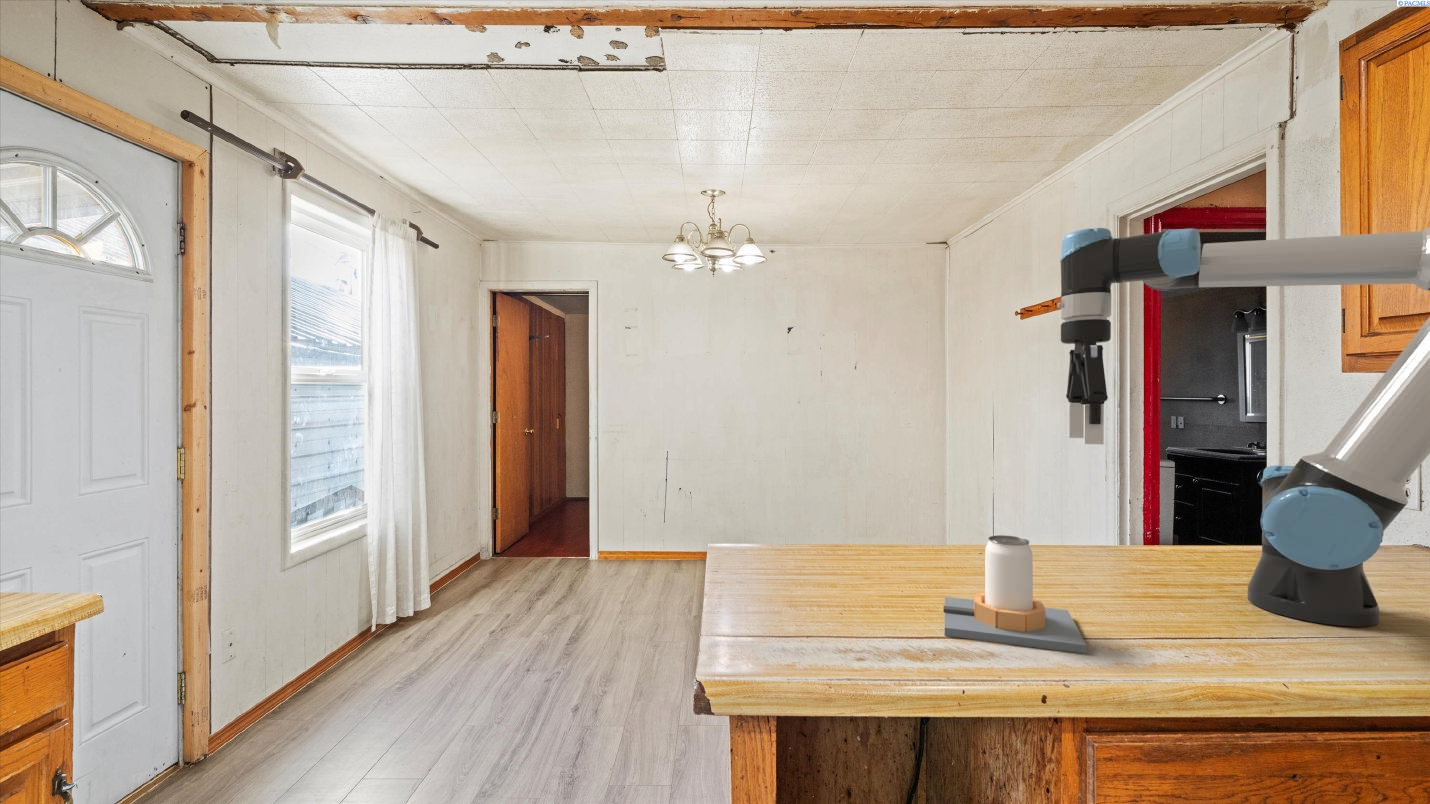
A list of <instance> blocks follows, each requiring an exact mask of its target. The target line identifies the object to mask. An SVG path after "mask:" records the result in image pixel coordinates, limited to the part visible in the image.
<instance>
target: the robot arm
mask: <svg viewBox="0 0 1430 804" xmlns="http://www.w3.org/2000/svg"><path fill="white" fill-rule="evenodd" d="M1059 262H1060V283H1061V284H1060V285H1061V287H1060V288H1061V291H1060V292H1061V293H1060V294H1061V295H1060V297H1061V301H1060V302H1057V305H1056V306H1057V308H1061V311H1060V317H1061V320H1064V321H1063V322H1062V323H1061V324H1060V342H1061V343H1062V344H1065V345H1066V344H1068V345H1072V344H1074V349H1070V350H1069V366H1068V367H1069V368H1068V375H1067V376H1068V377H1067V388H1066V394H1065V397H1066V399H1067V401H1068V438H1070V439H1071V438H1073V439H1083V445H1105V444H1104V443H1105V442H1104V438H1105V437H1104V434H1105V433H1104V431H1105V430H1104V428H1105V427H1104V422H1105V421H1104V419H1105V418H1104V417H1105V416H1104V409H1105V408H1104V407H1105V402H1106V401H1107V400H1108V397H1109V396H1108V394H1107V393H1108V392H1107V384H1106V383H1107V382H1106V375H1105V366H1104V357H1103V356H1104V352H1103V350H1104V346H1103V345H1102V344H1099V343H1106V342H1109V341H1110V340H1111V337H1112V330H1111V329H1112V323H1111V321H1110V320H1109V319H1108V318H1109V317H1111V316H1112V284H1122V283H1129V282H1130V283H1131V282H1141V281H1142V282H1143V283H1144V285H1146V286H1148V288H1150V289H1153V290H1156V291H1161V292H1162V291H1164V292H1165V291H1167V292H1168V291H1174V290H1177V289H1194V288H1228V287H1229V288H1231V287H1232V288H1235V287H1237V288H1239V287H1243V288H1245V287H1293V286H1294V287H1296V286H1297V287H1298V286H1299V287H1303V286H1349V285H1350V286H1353V285H1357V286H1358V285H1399V284H1400V285H1401V284H1402V285H1404V284H1405V285H1406V284H1408V285H1411V284H1412V285H1414V286H1416V287H1418V288H1419V289H1421V290H1422V291H1430V226H1428V227H1427V228H1425V229H1423V230H1418V231H1416V230H1415V231H1401V232H1381V233H1368V234H1367V233H1364V234H1349V235H1348V234H1347V235H1332V236H1331V235H1330V236H1329V235H1328V236H1315V237H1297V238H1296V237H1295V238H1278V239H1265V240H1263V239H1262V240H1261V239H1260V240H1259V239H1258V240H1244V241H1227V242H1210V243H1201V236H1200V232H1199V231H1198V229H1197V228H1183V229H1182V228H1181V229H1174V228H1173V229H1172V228H1171V229H1168V230H1165V231H1159V232H1151V233H1146V234H1139V235H1138V234H1137V235H1133V236H1126V237H1118V238H1117V237H1114V238H1113V236H1112V232H1111V230H1110V229H1109V228H1105V227H1095V228H1082V229H1078V230H1074V231H1071V232H1069V233H1067V234H1065V236H1064V237H1063V239H1062V242H1061V257H1060V261H1059ZM1429 455H1430V316H1429V317H1428V318H1427V319H1426V321H1425V322H1424V323H1423V325H1422V326H1421V327H1420V328H1419V330H1418V331H1417V332H1416V334H1414V336H1413V337H1412V339H1411V340H1410V341H1409V342H1408V344H1407V345H1406V346H1405V347H1404V349H1403V350H1402V351H1401V353H1399V355H1398V356H1397V358H1396V359H1395V360H1394V361H1393V363H1392V364H1391V365H1390V366H1389V368H1388V369H1387V370H1386V371H1385V373H1383V375H1382V376H1381V378H1380V379H1379V381H1378V382H1377V383H1376V384H1375V385H1374V387H1373V388H1372V390H1371V391H1370V392H1369V393H1368V394H1367V396H1365V398H1364V400H1363V401H1362V402H1361V404H1360V405H1359V406H1357V408H1356V410H1355V411H1354V412H1353V413H1352V415H1351V416H1350V417H1349V418H1348V420H1347V421H1346V422H1345V424H1344V425H1343V426H1342V427H1341V428H1340V430H1339V431H1338V433H1336V435H1335V436H1334V438H1333V439H1332V440H1331V441H1330V442H1329V444H1328V445H1327V446H1326V447H1325V449H1324V450H1323V451H1321V452H1318V453H1314V454H1307V455H1303V456H1302V457H1301V458H1300V459H1299V460H1298V462H1297V463H1296V464H1295V465H1270V466H1269V465H1268V466H1266V467H1265V468H1264V469H1263V472H1262V473H1263V474H1262V478H1261V479H1260V484H1261V486H1262V500H1261V501H1262V505H1261V506H1262V507H1261V508H1262V511H1261V514H1260V527H1261V530H1262V531H1261V532H1262V533H1261V557H1260V559H1259V561H1258V563H1257V565H1256V568H1255V569H1254V570H1253V571H1254V572H1253V574H1252V577H1251V578H1250V579H1249V583H1248V585H1247V600H1248V601H1249V602H1250V603H1251V604H1253V605H1254V606H1255V607H1259V608H1261V609H1263V610H1266V611H1268V612H1272V613H1274V614H1278V615H1281V616H1285V617H1289V618H1293V619H1297V620H1302V621H1306V622H1307V621H1308V622H1311V623H1317V624H1324V625H1331V626H1341V627H1357V628H1358V627H1373V626H1375V625H1378V624H1379V623H1380V607H1379V604H1378V602H1377V600H1376V597H1375V595H1374V592H1373V589H1372V587H1371V585H1370V583H1369V580H1368V578H1367V575H1366V573H1365V571H1364V563H1365V562H1367V561H1368V560H1369V559H1370V558H1372V557H1373V556H1374V555H1375V554H1376V553H1377V552H1378V551H1379V549H1380V547H1381V544H1382V542H1383V537H1384V535H1385V534H1384V532H1385V530H1386V529H1387V528H1388V527H1389V526H1390V525H1391V523H1392V522H1393V521H1394V520H1395V519H1396V517H1398V515H1399V514H1400V513H1401V512H1402V511H1403V509H1404V508H1405V507H1406V506H1407V505H1408V504H1409V501H1408V498H1407V495H1406V493H1405V490H1404V484H1405V483H1406V482H1407V481H1408V480H1409V479H1410V477H1411V476H1412V475H1413V474H1414V473H1415V471H1416V470H1417V469H1418V468H1419V467H1420V466H1421V464H1422V463H1423V462H1424V461H1425V460H1426V459H1427V457H1428V456H1429Z"/></svg>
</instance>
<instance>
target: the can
mask: <svg viewBox="0 0 1430 804" xmlns="http://www.w3.org/2000/svg"><path fill="white" fill-rule="evenodd" d="M987 540H988V542H987V544H986V545H985V549H984V550H985V552H984V555H985V556H984V560H985V561H984V562H985V563H984V564H985V565H984V587H985V588H984V592H985V604H987V605H989V606H992V607H995V608H997V609H1001V610H1010V611H1019V612H1024V611H1029V610H1033V599H1034V598H1033V597H1034V596H1033V595H1034V594H1033V593H1034V591H1033V590H1034V589H1033V586H1034V584H1033V582H1034V581H1033V577H1034V575H1033V572H1034V571H1033V569H1034V568H1033V567H1034V566H1033V565H1034V564H1033V562H1034V559H1033V558H1034V557H1033V551H1032V548H1031V546H1030V541H1029V539H1026V538H1023V537H1020V536H1015V535H1014V536H1013V535H1006V534H1004V535H1002V534H1001V535H992V536H989V537H988V539H987Z"/></svg>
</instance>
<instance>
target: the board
mask: <svg viewBox="0 0 1430 804" xmlns="http://www.w3.org/2000/svg"><path fill="white" fill-rule="evenodd" d="M943 613H944V636H946V637H952V638H959V639H960V638H961V639H966V640H967V639H968V640H977V641H983V642H990V643H991V642H992V643H999V644H1005V645H1006V644H1007V645H1013V646H1022V647H1029V648H1038V649H1045V650H1052V651H1053V650H1054V651H1059V652H1060V651H1062V652H1066V653H1067V652H1068V653H1069V652H1070V653H1075V654H1076V653H1077V654H1083V655H1086V654H1087V644H1086V642H1085V640H1084V638H1083V636H1082V634H1081V633H1080V630H1079V628H1078V627H1077V625H1076V623H1075V621H1074V620H1073V618H1072V615H1071V614H1070V611H1069V610H1068V609H1062V608H1052V607H1045V606H1044V604H1043V602H1042V601H1041V600H1039V599H1035V598H1033V610H1029V611H1024V612H1019V611H1010V610H1001V609H997V608H995V607H992V606H989V605H987V604H985V591H984V592H979V593H975V594H973V599H969V598H968V599H967V598H959V597H951V596H945V597H944V605H943Z"/></svg>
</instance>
